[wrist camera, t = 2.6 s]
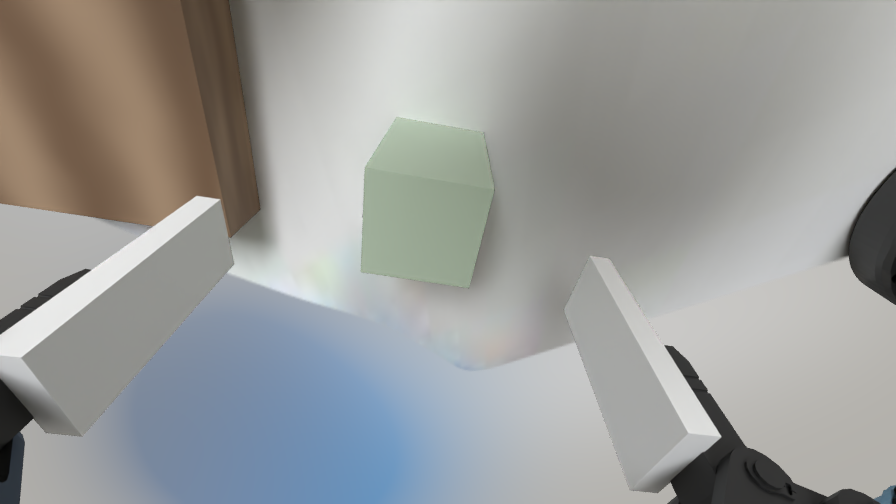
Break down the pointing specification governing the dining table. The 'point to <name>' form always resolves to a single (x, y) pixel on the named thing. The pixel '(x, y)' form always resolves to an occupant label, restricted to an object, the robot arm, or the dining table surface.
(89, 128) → the walnut plinth
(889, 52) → the dining table surface
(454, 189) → the sage block
